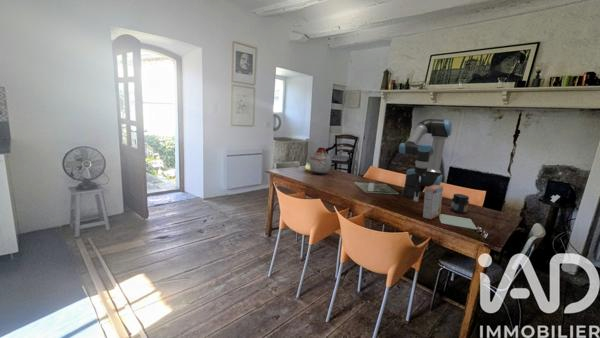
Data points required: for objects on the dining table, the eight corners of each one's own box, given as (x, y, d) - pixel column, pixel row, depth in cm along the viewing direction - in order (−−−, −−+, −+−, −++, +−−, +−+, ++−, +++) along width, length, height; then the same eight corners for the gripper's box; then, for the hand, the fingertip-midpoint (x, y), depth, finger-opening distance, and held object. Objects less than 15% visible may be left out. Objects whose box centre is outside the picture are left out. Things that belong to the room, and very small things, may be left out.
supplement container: (469, 212, 190) (473, 197, 187) (461, 214, 185) (464, 198, 182) (455, 207, 199) (458, 192, 196) (446, 209, 194) (449, 194, 191)
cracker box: (431, 213, 184) (434, 184, 181) (440, 215, 180) (443, 186, 176) (421, 217, 176) (424, 186, 172) (430, 220, 171) (434, 188, 167)
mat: (437, 213, 184) (437, 213, 184) (470, 219, 177) (470, 219, 177) (441, 223, 168) (441, 222, 168) (477, 229, 161) (477, 229, 161)
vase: (319, 170, 297) (321, 146, 291) (335, 175, 280) (337, 149, 274) (304, 172, 282) (305, 146, 276) (319, 177, 265) (321, 150, 259)
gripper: (414, 164, 182) (409, 197, 187) (415, 168, 170) (409, 202, 175) (426, 166, 179) (421, 199, 184) (428, 169, 167) (422, 204, 172)
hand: (415, 200), depth 179 cm, fingers closed
